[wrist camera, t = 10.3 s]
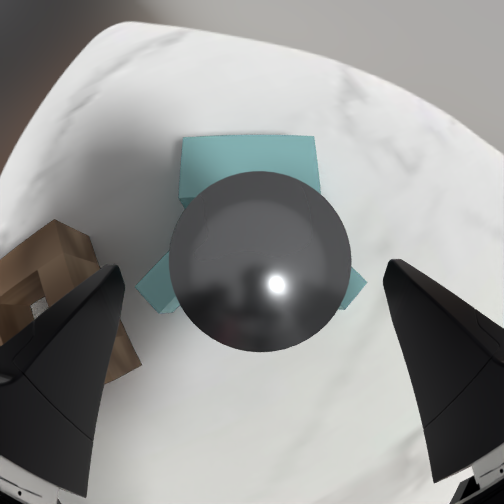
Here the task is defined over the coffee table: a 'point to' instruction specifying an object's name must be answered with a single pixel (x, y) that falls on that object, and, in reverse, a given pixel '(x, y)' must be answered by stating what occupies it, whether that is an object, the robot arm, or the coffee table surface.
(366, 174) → the coffee table surface
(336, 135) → the coffee table surface
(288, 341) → the axle
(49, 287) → the brown square frame
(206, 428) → the coffee table surface
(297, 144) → the teal y-shaped block
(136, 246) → the coffee table surface
